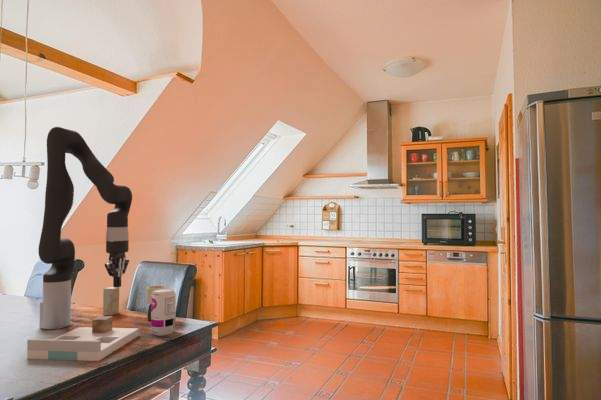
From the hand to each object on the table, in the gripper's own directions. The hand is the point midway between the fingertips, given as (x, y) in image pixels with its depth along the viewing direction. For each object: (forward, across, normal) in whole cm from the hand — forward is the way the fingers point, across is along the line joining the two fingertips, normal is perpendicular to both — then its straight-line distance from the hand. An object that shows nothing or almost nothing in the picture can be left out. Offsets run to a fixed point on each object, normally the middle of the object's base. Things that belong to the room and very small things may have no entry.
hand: (117, 287), depth 146 cm
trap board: (+16, +17, 0) cm, 23 cm away
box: (+16, -24, -16) cm, 33 cm away
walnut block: (+13, +9, 0) cm, 16 cm away
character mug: (+16, -17, +7) cm, 24 cm away
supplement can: (+16, +1, +18) cm, 24 cm away
